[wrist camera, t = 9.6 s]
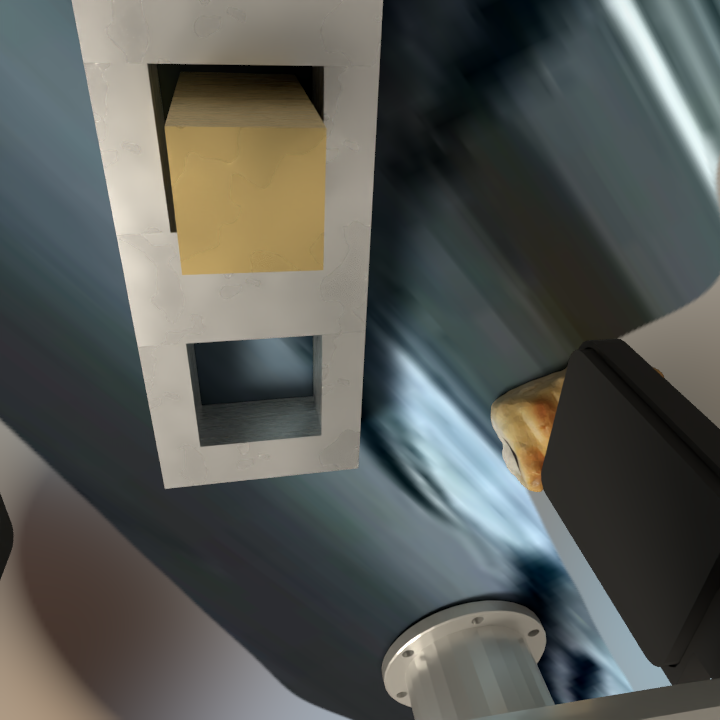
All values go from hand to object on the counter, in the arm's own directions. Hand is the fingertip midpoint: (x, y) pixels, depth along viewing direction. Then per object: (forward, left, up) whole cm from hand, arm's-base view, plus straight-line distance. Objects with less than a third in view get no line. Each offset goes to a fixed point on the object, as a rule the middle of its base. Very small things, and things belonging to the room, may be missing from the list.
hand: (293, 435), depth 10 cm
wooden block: (+1, 0, -17) cm, 17 cm away
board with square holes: (-4, 0, -17) cm, 17 cm away
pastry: (-14, -16, -17) cm, 28 cm away
